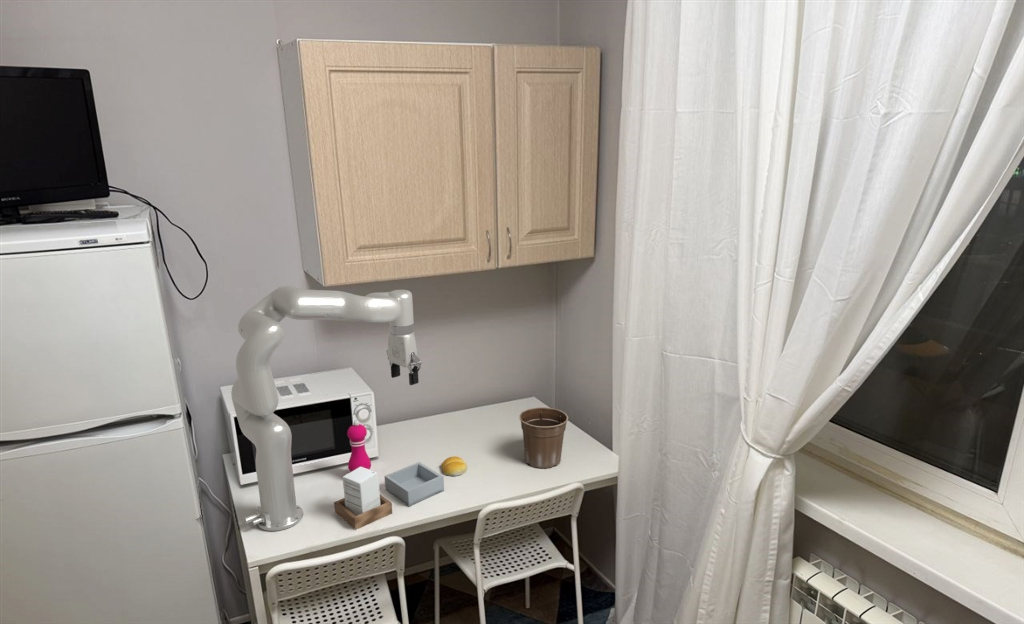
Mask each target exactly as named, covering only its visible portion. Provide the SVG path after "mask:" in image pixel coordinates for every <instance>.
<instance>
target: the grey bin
mask: <svg viewBox="0 0 1024 624" xmlns="http://www.w3.org/2000/svg"><path fill="white" fill-rule="evenodd" d="M444 479H445V478H444V475H442V474H440V473H439V472H437V471H436V470H433V469H432V468H430V467H428V466H426V465H425V464H423V463H422V462H421V461H418V462H416V463H413V464H411V465H409V466H406V467H403V468H401V469H398V470H396V471H393V472H391V473H389V474H386V475H384V488H385V491H386V492H387V493H389V494H390V495H391V496H393V497H394V498H396V500H398V501H400V502H401V503H403V504H404V505H406V506H407V507H409V508H411V507H412V506H414V505H417V504H418V503H421V502H422V501H425V500H427V499H429V498H432V497H434V496H436V495H438V494H440V493H442V492H444V491H445V480H444Z"/></svg>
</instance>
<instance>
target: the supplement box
mask: <svg viewBox="0 0 1024 624" xmlns="http://www.w3.org/2000/svg"><path fill="white" fill-rule="evenodd" d="M379 481H380V480H379V472H378V471H377V472H376V471H374V470H371V469H366V468H363V467H359V468H357V469H355V470H354V471H352V472H349V473H346V474H345V475H344V476H342V485H343V493H344V497H343V498H345V508H347V509H348V510H349V511H350V512H352V513H353V514H354V515H355V516H357V515H359V514H362V513H364V512H366V511H369V510H371V509H373V508H376V507H378V506H380V495H381V494H380V482H379Z"/></svg>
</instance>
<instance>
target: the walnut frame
mask: <svg viewBox="0 0 1024 624" xmlns="http://www.w3.org/2000/svg"><path fill="white" fill-rule="evenodd" d="M392 503H393V502H391V501H390V500H389V499H387V498H386V497H385V496H383V495H381V494H380V506H378V507H376V508H373V509H371V510H369V511H366V512H364V513H362V514H359V515H357V516H355V515H354V514H353V513H352V512H350V511H349V510H348V509H347V508H345V497H343V498H341V499H340V498H339V499H337V500H336V501H333V507H334V514H336V515H337V516H338V517H340V519H342V520H343V521H344V522H346V523H347V524H348V525H349V526H350V527H352V529H354V530H355V531H356V530H359V529H361V528H363V527H365V526H367V525H370V524H373V523H374V522H377V521H379V520H381V519H383V518H385V517H388V516H389V515H392V514H393V504H392Z"/></svg>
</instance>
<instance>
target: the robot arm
mask: <svg viewBox="0 0 1024 624" xmlns="http://www.w3.org/2000/svg"><path fill="white" fill-rule="evenodd" d="M413 304H414V303H413V294H412V292H411V291H410V290H407V289H394V290H391V291H387V292H385V291H384V292H370V293H368V294H366V295H365V296H363V295H358V294H353V293H350V292H347V291H341V290H329V289H326V290H325V289H323V290H321V289H319V290H318V289H303V288H296V287H295V286H292V285H282V286H280V287H279V286H278V287H277V288H275V289H274V290H272V291H271V292H270V293H269V294H267V295H266V296H265V297H264V298H262V299H261V300H259V301H258V302H257V303H256V304H255V305H253V306H252V307H251V308H249V309H248V311H246V312H244V314H243V315H242V316H241V318H240V319H239V321H238V324H237V325H238V326H237V331H238V333H239V336H240V337H241V338H242V339H243V340H244V342H243V343H242V345H241V346H240V348H239V350H238V352H237V354H236V357H235V359H236V360H235V367H236V373H237V378H236V379H235V381H234V383H233V384H232V387H231V391H230V393H231V396H230V397H231V400H232V405H233V408H234V412H235V415H236V418H237V421H238V425H239V428H240V430H241V433H242V434H243V436H245V437H246V438H247V439H248V440H249V441H250V442H251V443H252V444H253V445H254V446H255V449H256V451H255V471H256V476H257V477H256V479H257V487H258V495H259V501H260V502H259V503H260V506H259V507H257V511H255V512H254V513H253V514H250V515H247V516H245V517H243V520H244V523H245V525H249V524H250V523H251V524H252V525H253V526H256V525H257V527H258V528H259V529H261V530H264V531H269V532H277V531H282V530H286V529H289V528H291V527H293V526H295V525H296V524H298V523H299V522H300V521H301V520H302V519H303V516H304V511H303V508H302V507H301V506H299V505H298V504H297V499H296V489H295V480H294V479H295V477H294V472H293V471H294V470H293V461H292V440H293V439H292V437H293V436H292V435H293V434H292V430H291V428H290V426H289V424H288V423H287V422H286V421H285V420H284V419H282V418H281V417H280V416H278V415H277V414H275V413H274V412H275V411H276V410H277V408H278V405H279V395H278V390H277V386H276V383H275V379H274V376H273V372H272V366H271V360H272V356H273V354H274V353H275V351H276V349H278V347H279V346H280V344H281V343H282V341H283V339H284V336H285V330H284V327H283V325H282V323H280V322H281V321H283V320H284V319H285V318H289V319H291V320H298V321H299V320H300V321H341V322H342V321H343V322H357V323H369V324H372V323H373V324H379V323H381V324H382V323H383V324H384V323H385V324H388V323H389V332H388V341H387V349H386V351H385V352H386V355H387V360H388V361H389V366H390V376H391V377H390V378H392V379H394V378H398V377H400V376H401V367H402V368H407V369H408V371H409V373H408V383H409V384H408V385H409V386H413V385H417V384H419V372H420V370H421V366H422V364H423V363H422V360H421V359H420V358H419V356H418V349H417V341H416V337H415V336H416V335H415V325H414V324H415V323H414V322H415V321H414V305H413ZM412 366H413V367H412Z"/></svg>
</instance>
